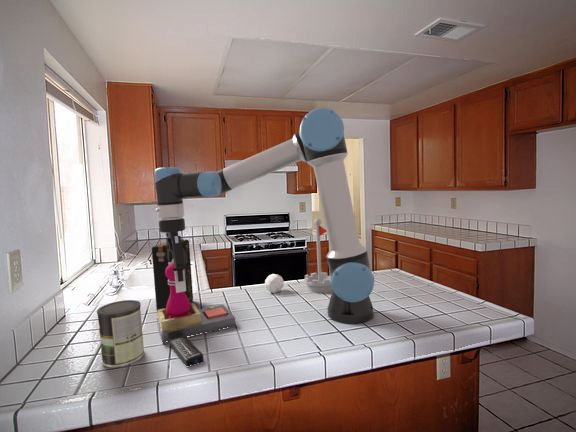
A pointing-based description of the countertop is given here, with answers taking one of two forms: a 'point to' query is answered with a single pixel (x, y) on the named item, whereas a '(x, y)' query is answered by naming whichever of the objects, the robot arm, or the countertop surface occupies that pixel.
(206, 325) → the grey board with box
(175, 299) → the pepper mill
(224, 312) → the button
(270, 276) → the ball
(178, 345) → the multiport hub
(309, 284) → the flag stand
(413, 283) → the countertop surface
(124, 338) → the coffee can
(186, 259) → the voltmeter
